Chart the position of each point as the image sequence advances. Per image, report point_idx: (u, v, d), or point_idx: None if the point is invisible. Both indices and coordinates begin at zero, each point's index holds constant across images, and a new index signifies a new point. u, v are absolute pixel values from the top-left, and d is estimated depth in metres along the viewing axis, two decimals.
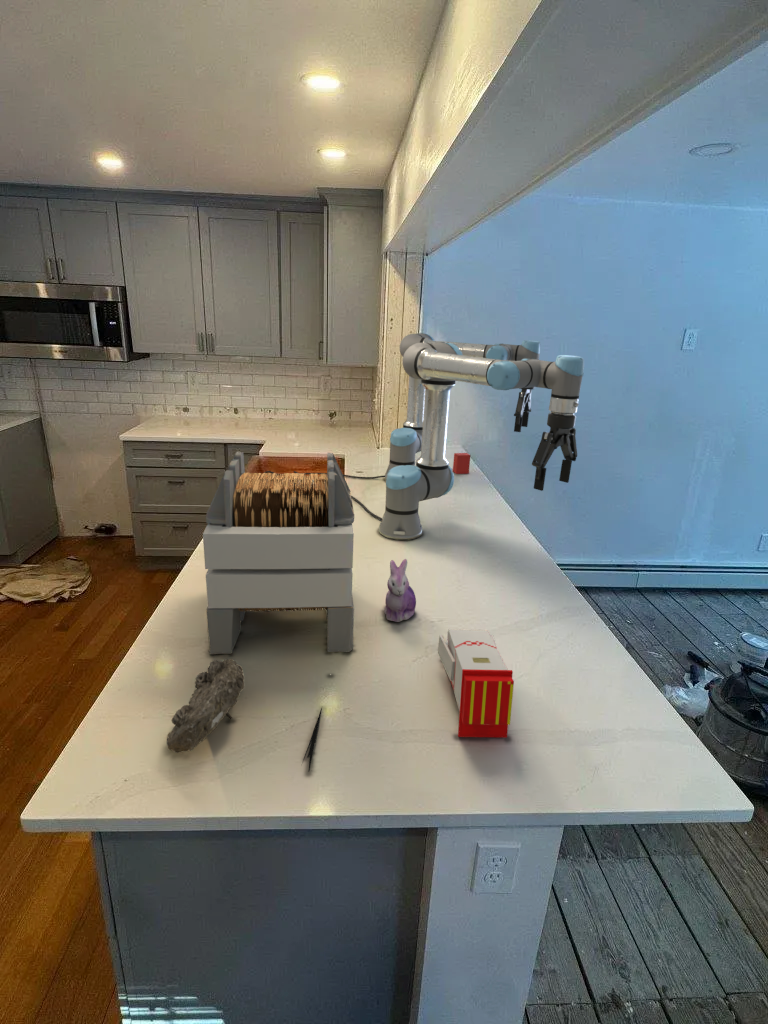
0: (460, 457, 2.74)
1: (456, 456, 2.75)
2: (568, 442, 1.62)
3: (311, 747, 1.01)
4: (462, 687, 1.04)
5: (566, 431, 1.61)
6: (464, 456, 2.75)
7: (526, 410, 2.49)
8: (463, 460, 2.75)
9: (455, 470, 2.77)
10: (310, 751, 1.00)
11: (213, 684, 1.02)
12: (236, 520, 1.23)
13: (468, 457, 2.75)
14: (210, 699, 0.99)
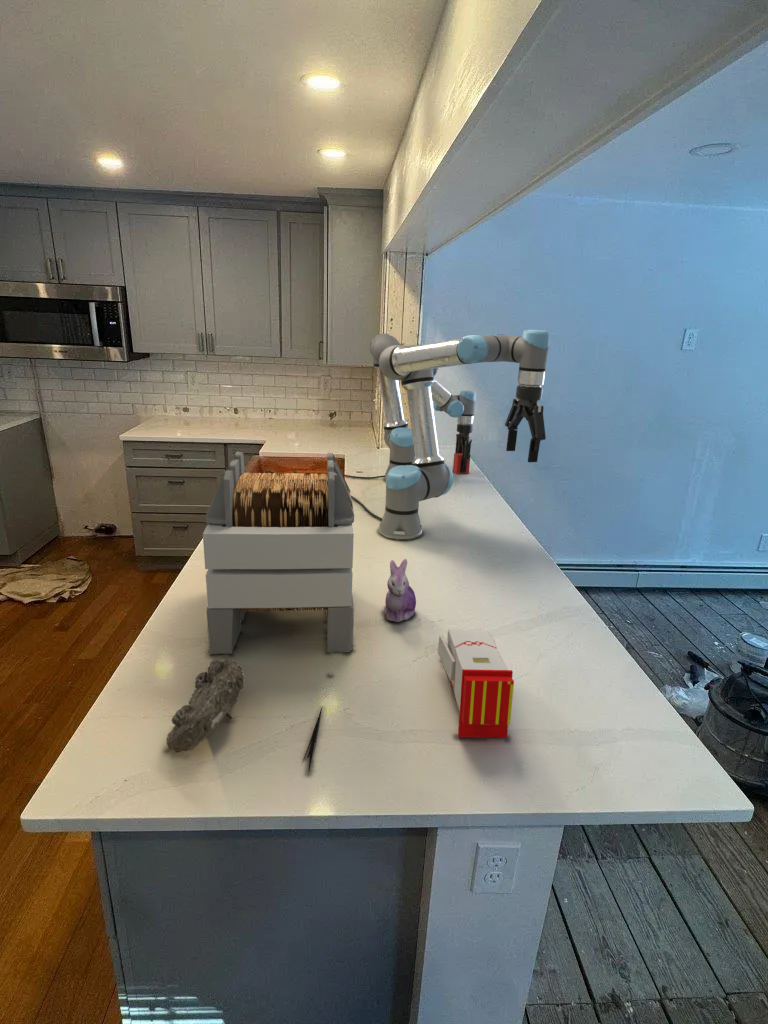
0: (460, 457, 2.74)
1: (456, 456, 2.75)
2: None
3: (311, 747, 1.01)
4: (462, 687, 1.04)
5: None
6: None
7: None
8: None
9: (455, 470, 2.77)
10: (310, 751, 1.00)
11: (213, 684, 1.02)
12: (236, 520, 1.23)
13: None
14: (210, 699, 0.99)
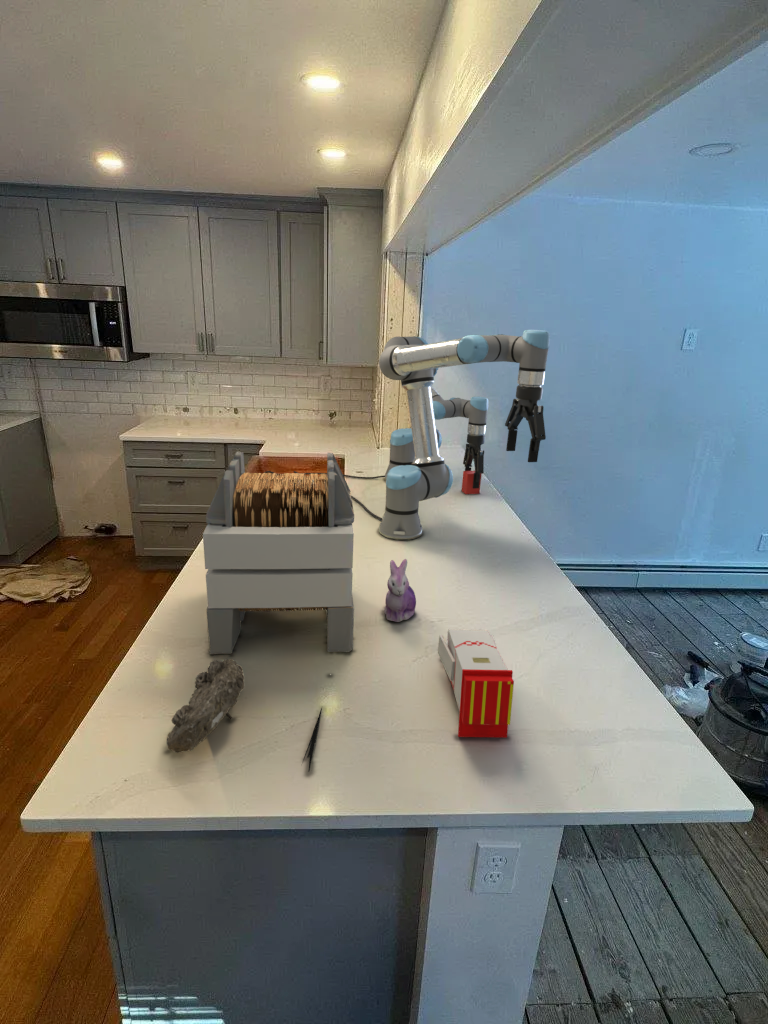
0: (470, 476, 2.44)
1: (465, 474, 2.45)
2: None
3: (311, 747, 1.01)
4: (462, 687, 1.04)
5: None
6: None
7: (468, 465, 2.50)
8: None
9: (465, 490, 2.47)
10: (310, 751, 1.00)
11: (213, 684, 1.02)
12: (236, 520, 1.23)
13: None
14: (210, 699, 0.99)
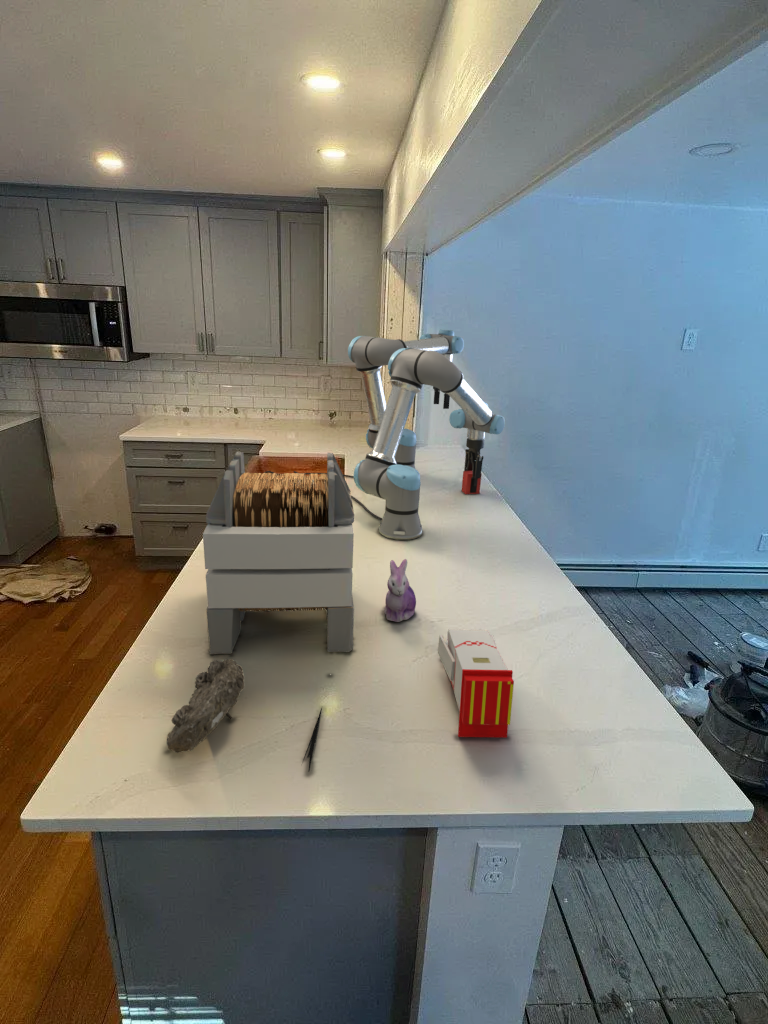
0: (470, 476, 2.44)
1: (465, 474, 2.45)
2: None
3: (311, 747, 1.01)
4: (462, 687, 1.04)
5: None
6: None
7: (437, 390, 2.89)
8: None
9: (465, 490, 2.47)
10: (310, 751, 1.00)
11: (213, 684, 1.02)
12: (236, 520, 1.23)
13: None
14: (210, 699, 0.99)
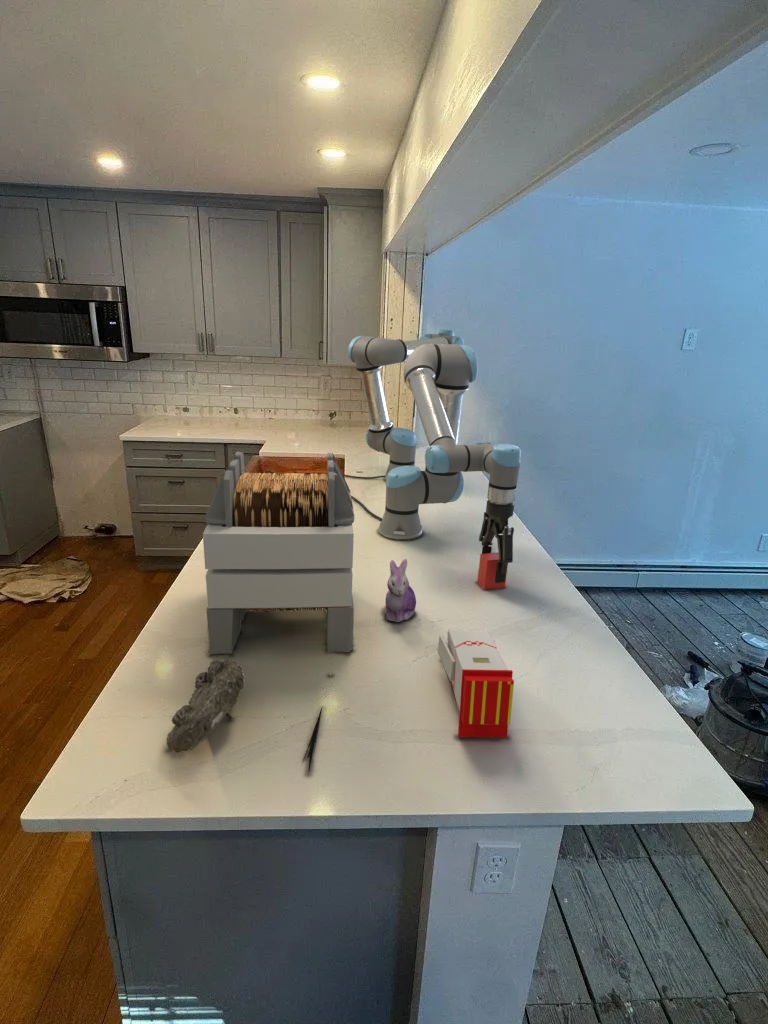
0: (491, 563, 1.60)
1: (484, 560, 1.61)
2: None
3: (311, 747, 1.01)
4: (462, 687, 1.04)
5: None
6: None
7: None
8: (496, 567, 1.61)
9: (483, 583, 1.63)
10: (310, 751, 1.00)
11: (213, 684, 1.02)
12: (236, 520, 1.23)
13: None
14: (210, 699, 0.99)
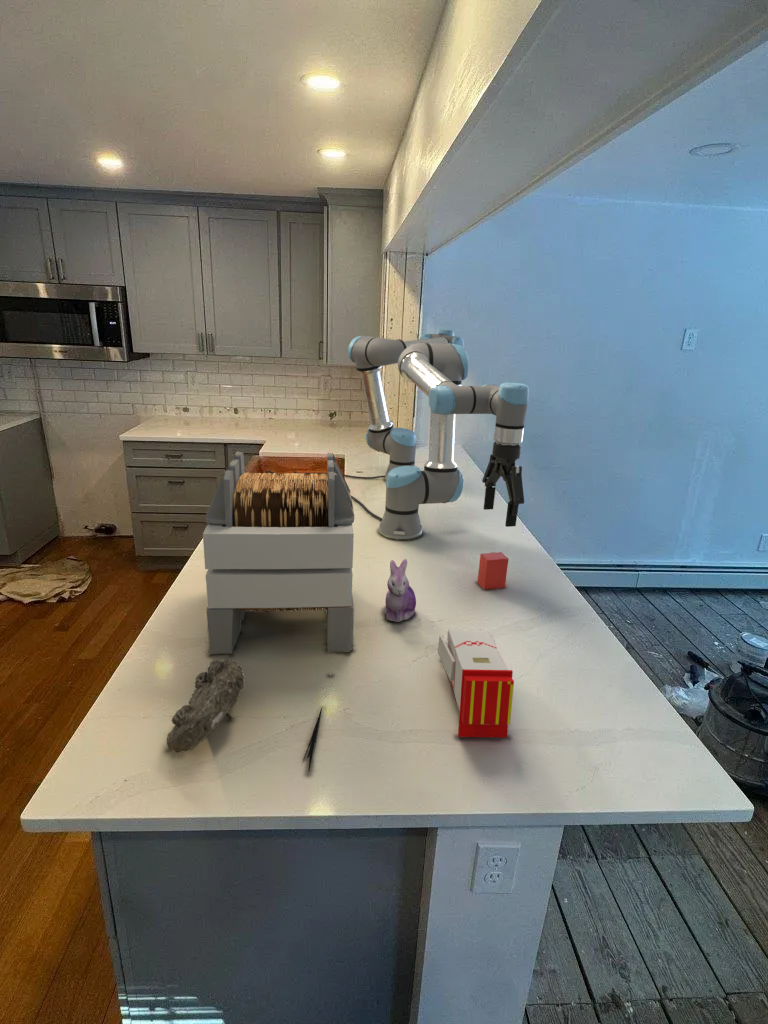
0: (491, 563, 1.60)
1: (484, 560, 1.61)
2: None
3: (311, 747, 1.01)
4: (462, 687, 1.04)
5: None
6: (498, 561, 1.60)
7: None
8: (496, 567, 1.61)
9: (483, 583, 1.63)
10: (310, 751, 1.00)
11: (213, 684, 1.02)
12: (236, 520, 1.23)
13: (505, 562, 1.61)
14: (210, 699, 0.99)
